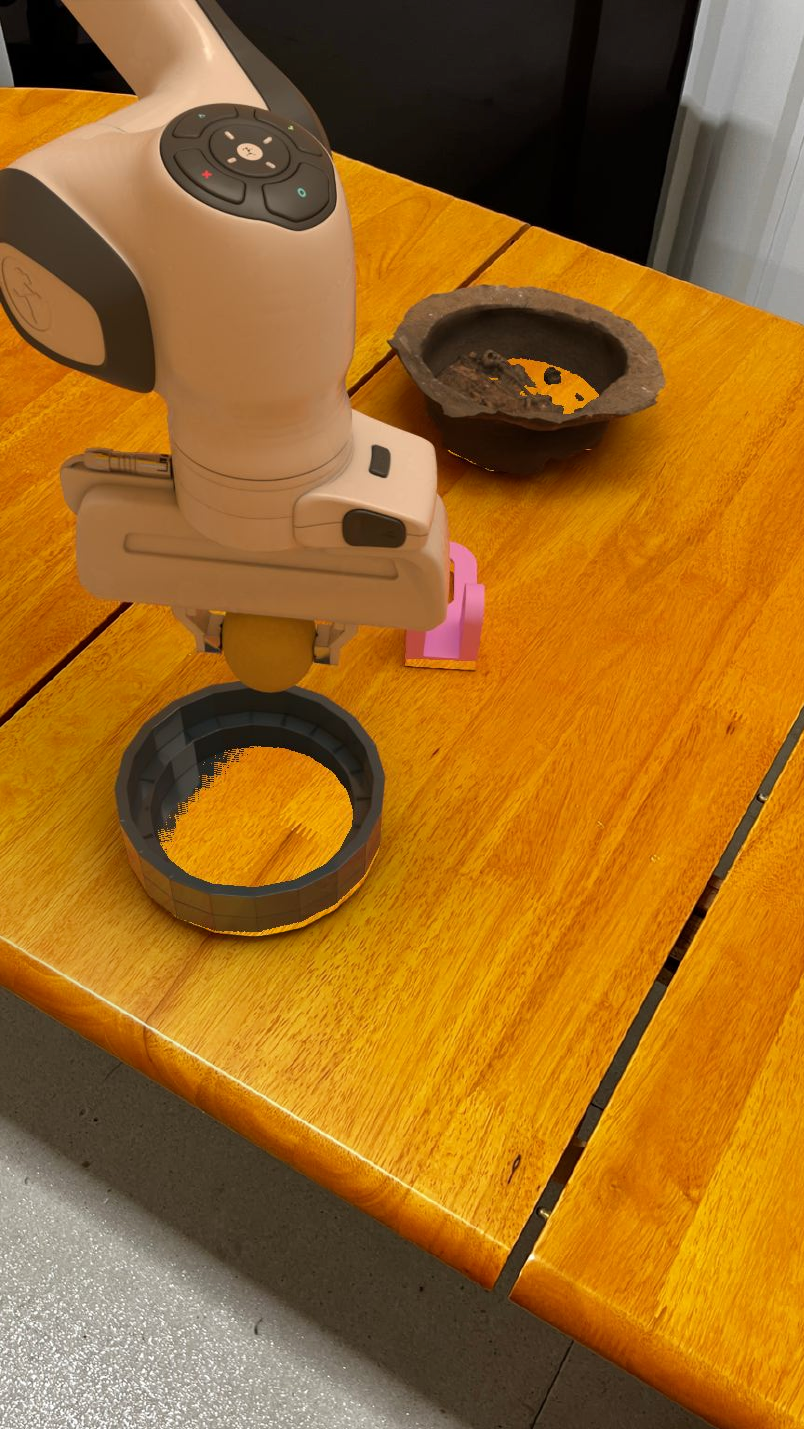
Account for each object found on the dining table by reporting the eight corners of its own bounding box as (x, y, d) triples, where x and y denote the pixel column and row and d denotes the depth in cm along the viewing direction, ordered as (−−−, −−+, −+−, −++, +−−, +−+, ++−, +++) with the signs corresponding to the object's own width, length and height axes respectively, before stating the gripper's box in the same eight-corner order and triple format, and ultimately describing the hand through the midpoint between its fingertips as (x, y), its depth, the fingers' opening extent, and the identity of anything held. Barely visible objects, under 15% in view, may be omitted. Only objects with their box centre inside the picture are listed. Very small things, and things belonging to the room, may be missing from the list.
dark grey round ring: (104, 931, 80) (89, 884, 76) (153, 722, 91) (143, 669, 86) (370, 952, 81) (373, 907, 76) (389, 742, 91) (393, 691, 86)
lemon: (312, 645, 77) (311, 553, 70) (321, 715, 74) (321, 625, 67) (223, 651, 76) (214, 558, 69) (228, 721, 73) (219, 631, 66)
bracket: (475, 671, 96) (484, 609, 90) (404, 666, 96) (409, 604, 90) (475, 554, 104) (483, 491, 98) (409, 550, 103) (414, 486, 98)
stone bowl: (456, 531, 105) (461, 439, 97) (350, 377, 119) (347, 286, 111) (702, 466, 112) (724, 376, 104) (574, 328, 126) (585, 240, 118)
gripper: (37, 488, 59) (82, 674, 70) (459, 531, 60) (436, 708, 71) (67, 404, 62) (105, 594, 74) (465, 446, 63) (442, 628, 75)
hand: (270, 650), depth 72 cm, fingers closed on lemon, 5 cm apart
